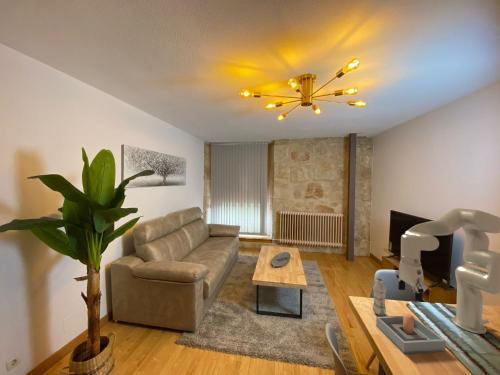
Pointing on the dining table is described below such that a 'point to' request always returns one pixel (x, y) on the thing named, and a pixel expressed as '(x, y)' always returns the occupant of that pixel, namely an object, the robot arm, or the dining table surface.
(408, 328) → the peg
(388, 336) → the grey socket tray
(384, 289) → the plastic bottle
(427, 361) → the dining table surface
